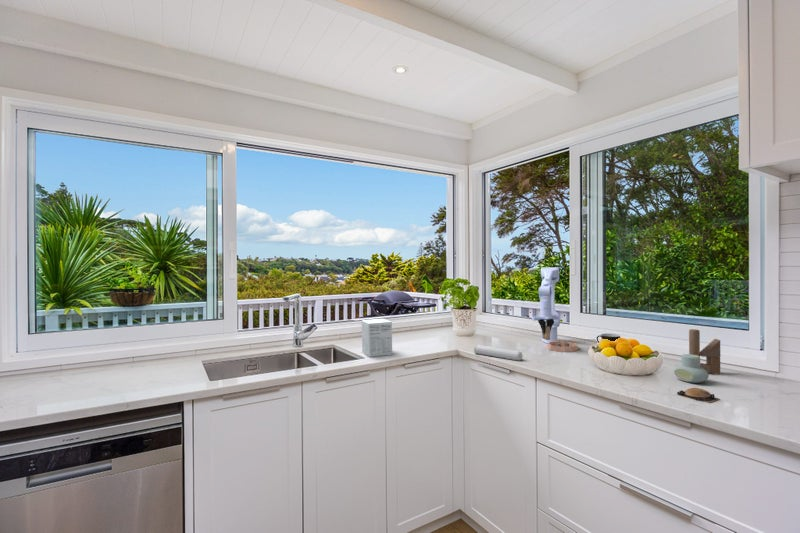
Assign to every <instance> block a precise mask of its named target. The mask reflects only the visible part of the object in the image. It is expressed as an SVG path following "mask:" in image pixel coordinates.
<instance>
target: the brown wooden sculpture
mask: <svg viewBox="0 0 800 533" xmlns="http://www.w3.org/2000/svg"><path fill="white" fill-rule="evenodd" d="M688 330H689V331H688V341H689V342H688V354H692V355H697V356H699V357H700V358H701V357H703V358H704V357H705V359H706V361H705V362H706V363H704V362H703V363H702V362H700V367H701V368H703V369H705V370H706V371H707V372H708V375H709V374H711V375H721V340H720V339H718V338H713V339H712V341H710V342H709V343H708V344H707V345H705V347H703V348H702V349H700V346H701V343H700V342H701V341H700V339H701V336H700V335H701V334H700V330H699V329H697V328H696V329H693V328H691V329H690V328H689V329H688Z"/></svg>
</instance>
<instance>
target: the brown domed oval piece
mask: <svg viewBox="0 0 800 533" xmlns="http://www.w3.org/2000/svg"><path fill="white" fill-rule="evenodd" d="M676 393H677V395H678V396H680V397H684V398H687V399H690V400H695V401H698V402H703V403H707V404H713V403H715V402H718V401H720V400H721V399H720V398H718V397H716V396H715V394H714V393H712V394H711V392H710V391H708V390H705V389H703V388H698V387H690V388H687V389H686V390H679V391H676Z"/></svg>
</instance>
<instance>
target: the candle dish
mask: <svg viewBox="0 0 800 533" xmlns="http://www.w3.org/2000/svg"><path fill="white" fill-rule="evenodd" d="M547 349H548V350H550V351H555V352H564V353H569V352H571V353H574V352H578V350H579V344H578V343H576V342H570V341H563V340H562V341H561V340H557V341H552V342H548V343H547Z"/></svg>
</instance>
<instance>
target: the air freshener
mask: <svg viewBox="0 0 800 533" xmlns="http://www.w3.org/2000/svg"><path fill="white" fill-rule="evenodd" d="M700 363H701V356H700V357H699V356H697V355H692V354H689V353H683V354H681V364H680V365H677V366H675V368H674V370H673V374H674V375H675V377H677V379H679V380H680V381H682V382H685V383H689V384H690V383H691V384H692V383H693V384H698V383H699V384H700V383H703V382H705V381H708V379H709V374H708V372H707V371H706V370H705V369H703V368H701V367H700Z"/></svg>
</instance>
